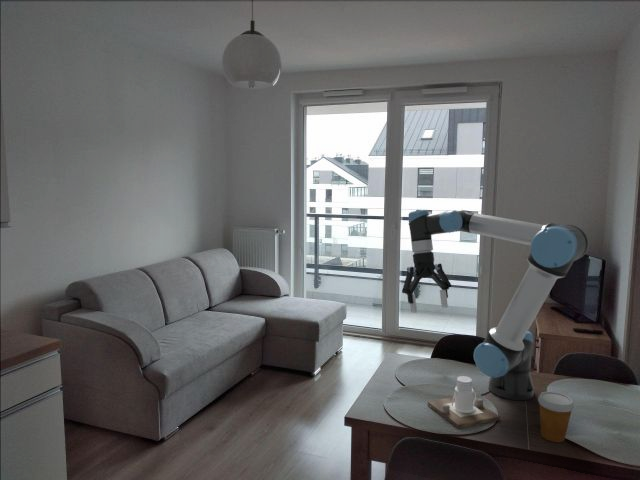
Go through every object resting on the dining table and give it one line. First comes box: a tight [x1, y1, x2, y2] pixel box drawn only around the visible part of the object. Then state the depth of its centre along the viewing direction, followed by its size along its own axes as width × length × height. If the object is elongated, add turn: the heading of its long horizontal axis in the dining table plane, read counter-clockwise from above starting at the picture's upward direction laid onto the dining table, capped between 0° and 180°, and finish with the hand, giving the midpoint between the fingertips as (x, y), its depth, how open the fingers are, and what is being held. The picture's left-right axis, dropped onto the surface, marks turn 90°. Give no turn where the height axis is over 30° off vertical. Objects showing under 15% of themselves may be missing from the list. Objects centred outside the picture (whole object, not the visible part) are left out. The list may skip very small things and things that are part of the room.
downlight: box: [452, 375, 477, 413], centre depth 154 cm, size 8×7×10 cm
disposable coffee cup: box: [537, 391, 575, 443], centre depth 140 cm, size 10×10×12 cm
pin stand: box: [427, 396, 501, 429], centre depth 155 cm, size 16×16×3 cm
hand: (429, 309), depth 175 cm, fingers open, 13 cm apart
